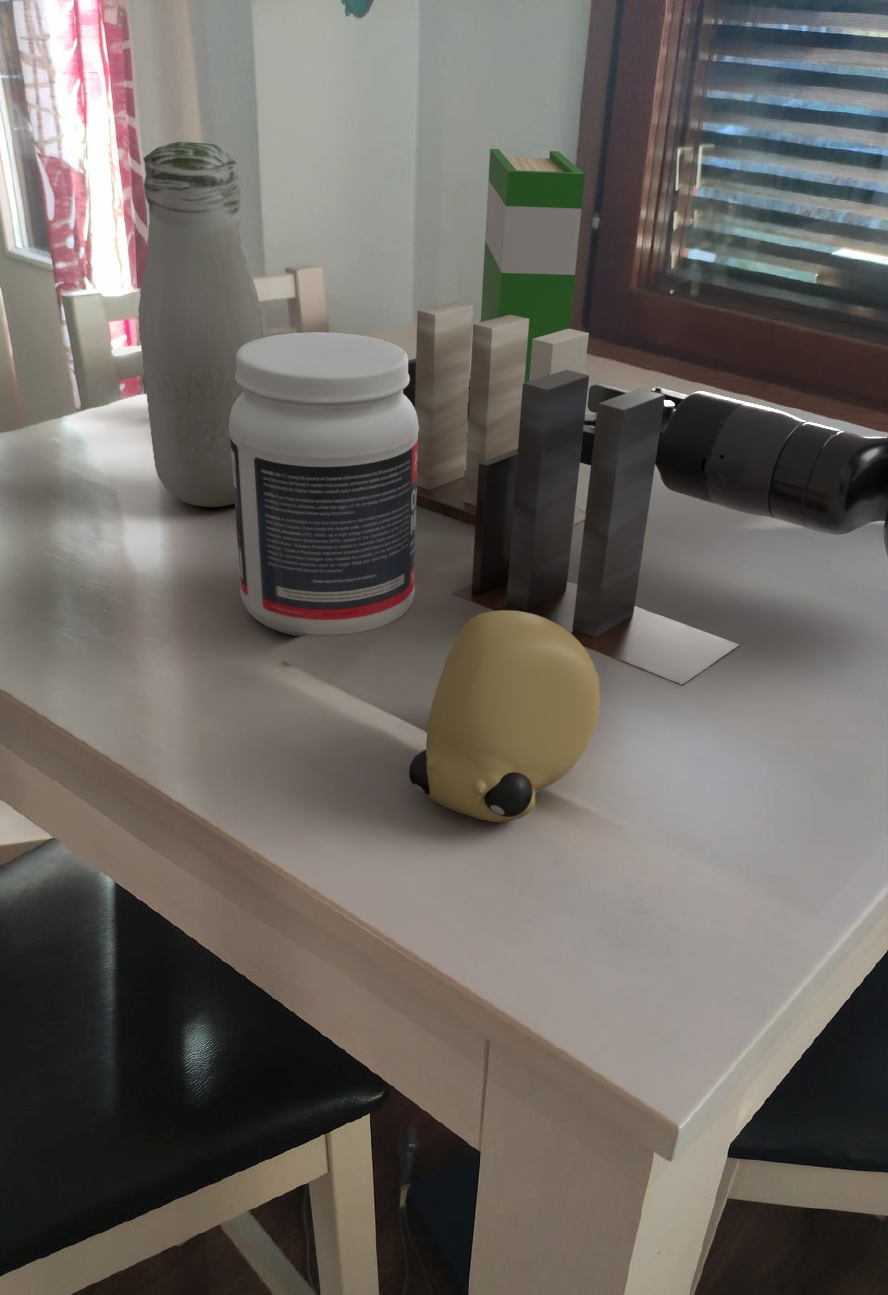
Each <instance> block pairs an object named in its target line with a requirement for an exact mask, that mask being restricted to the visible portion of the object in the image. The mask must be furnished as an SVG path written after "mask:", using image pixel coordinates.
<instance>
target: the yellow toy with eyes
mask: <svg viewBox="0 0 888 1295" xmlns="http://www.w3.org/2000/svg"><path fill="white" fill-rule="evenodd" d="M443 665H444V666H443V668H442V671H441V674H440V677H439V680H438V683H437V685H436V689H435V691H434V692H435V693H434V695H433V699H432V702H431V706H430V710H429V714H428V715H429V716H428V718H427V719H428V720H427V729H426V739H425V740H426V741H425V749H424V750H422V751H420V752H418V753H417V754H416V755H415V756H414V757H413V759H412V760H411V762H410V764H409V768H408V776H409V781H410V783H411V785H412V786H413V787H414V788H415V789H416V790H417V791H419V792H420V793H422V794H425V795H427V797H429V798H430V799H431V800H432V801H434V802H436V803H437V804H439V805H441V806H443V807H445V808H447V809H449V810H451V811H454V812H456V813H459V814H462V815H464V816H468V817H470V818H474V819H477V820H481V821H485V822H491V823H506V822H512V821H515V820H519V819H521V818H523V817H525V816H527V815H529V813H531V812H532V811H533V809H534V808H535V806H536V794H537V793H538V792H539V791H542V790H543V789H545V788H547V787H548V786H550V785H552V784H554V783H555V782H557V781H559V780H560V779H561V778H563V777H564V776H565V775H567V774H568V773H569V771H571V770H572V769H573V768H574V767H575V765H576V764H577V763H578V761H580V759H581V758H582V756H583V754H584V753H585V751H586V749H587V748H588V746H589V744H590V742H591V740H592V738H593V735H594V733H595V731H596V730H595V729H596V727H597V724H598V720H599V716H600V707H601V706H600V705H601V691H600V682H601V681H600V676H599V674H598V673H597V669H596V667H595V664H594V661H593V660H592V657H591V656H590V654H589V652H588V651H587V649H586V647H584V646H582V644H581V643H580V642H579V641H578V640H577V639H576V638H575V637H574V636H573V635H572V634H571V633H569V632H568V631H567V630H565V629H564V628H563V627H561V626H559V625H558V624H556V623H554V622H552V621H550V620H548V619H546V618H543V617H541V616H538V615H534V614H531V613H526V612H520V611H510V610H500V611H494V610H490V611H485V612H481V613H479V614H476V615H475V616H473V617H471V618H470V619H468V620H467V621H466V622H465V624H464V625H463V626H462V627H461V629H460V630H459V632H458V633H457V635H456V637H455V639H454V641H453V643H452V645H451V648H450V650H449V651H448V655H447V657H446V660H445V663H444V664H443Z"/></svg>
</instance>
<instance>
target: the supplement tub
mask: <svg viewBox="0 0 888 1295" xmlns="http://www.w3.org/2000/svg"><path fill="white" fill-rule="evenodd" d="M408 360H409V356H408V354H407V352H406V351H405V350H404V349H403V348H401V347H400V346H398V345H396V344H394V343H393V342H390V341H387V340H383V339H380V338H375V337H371V336H367V335H360V334H351V333H343V332H341V333H340V332H324V331H323V332H322V331H321V332H318V331H316V332H315V331H314V332H313V331H312V332H309V331H308V332H307V331H306V332H291V333H282V334H281V333H280V334H275V335H270V336H265V337H264V336H263V338H260V339H256V340H253V341H251V342H248V343H246V344H244V345H243V346H242V347H240V349H239V350H238V351H237V353H236V366H237V371H236V373H235V380H236V382H237V383H238V384H239V385H240V386H242V388H243V391H244V392H243V393H242V394H241V395H240V396H239V397H238V398H237V400H236V401H235V403H234V405H233V407H232V409H231V413H230V419H229V431H230V442H231V455H232V469H233V484H234V498H235V504H234V511H235V525H236V539H237V540H236V541H237V553H238V568H239V583H240V587H239V588H240V589H239V592H240V597H241V599H242V600H241V601H242V602H243V604H244V607H245V609H246V610H247V611H248V612H249V614H250V615H251V616H252V617H253V619H255V620H257V621H258V622H259V623H260V624H262V625H264V626H265V627H267V628H269V629H272V630H274V631H277V632H280V633H283V634H285V635H290V636H294V637H299V638H301V637H303V636H305V635H311V636H341V635H351V634H357V633H363V632H368V631H371V630H375V629H379V628H381V627H384V626H386V625H388V624H390V623H392V622H394V621H396V620H398V619H400V618H401V617H402V616H403V615H404V614H405V613H406V612H407V611H408V610H409V608H411V605H412V602H413V599H414V596H415V593H416V586H415V582H416V581H415V580H416V577H415V574H416V541H417V540H416V537H417V536H416V534H417V504H416V498H417V455H418V432H419V425H418V419H417V414H416V411H415V408H414V406H413V405H412V403H411V402H410V400H409V399H408V398H407V397H406V396H405V395H404V394H403V389H404V388H406V386H407V385H408V384H409V382H410V377H409V374H408Z"/></svg>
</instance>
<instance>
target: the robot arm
mask: <svg viewBox="0 0 888 1295" xmlns="http://www.w3.org/2000/svg"><path fill="white" fill-rule="evenodd" d="M650 391H652V392H656V393H660V394H664V395H665V400H664V407H663V413H662V420H661V427H660V434H659V441H658V448H657V455H656V462H655V467H656V468H657V471H658V472H659V477H660V479H661V481H662V484H663V485H664V487H666V488H667V489H668V490H669V491H671V492H675V493H679V494H681V495H685V496H688V497H691V498H695V499H697V500H702V501H704V502H708V503H711V504H714V505H717V506H721V507H724V508H727V509H731V510H734V511H737V512H740V513H743V514H748V515H753V516H760V517H768V518H773V519H776V520H780V521H783V522H786V523H790V524H792V525H796V526H800V527H803V528H806V529H809V530H812V531H816V532H819V533H822V534H823V533H824V534H828V535H835V536H837V535H838V536H839V535H845V534H848V533H850V532H851V533H852V532H853V531H855V530H857V529H859V528H861V527H863V526H865V525H868V524H872V523H875V522H884V523H883V544H884V549H885V552H886V555H887V556H888V436H864V435H860V434H856V433H853V432H850V431H846V430H843V429H838V428H836V427H830V426H827V425H823V424H819V423H815V422H812V421H811V422H810V421H808V420H804V419H801V418H799V417H797V416H795V415H792V414H790V413H787V412H785V411H781V410H778V409H774V408H771V407H767V406H763V405H758V404H754V403H750V402H746V401H743V400H738V399H734V398H730V397H726V396H722V395H719V394H714V393H711V392H707V391H695V392H692V393H690V394H688V395H687V394H684V393H680V392H677V391H673V390H669V389H666V388H662V387H660V386H656V387H652V388H650ZM628 392H631V391H629V390H625V389H622V388H618V387H614V386H611V385H607V384H603V383H595V384H591V386H589V387H588V395H587V410H588V411H589V412H591V413H594V414H585V420H584V429H583V439H582V448H581V457H580V464H584V465H588V466H590V467H591V461H592V452H593V443H594V434H595V426H596V417H597V408H598V403H601V402H604V401H606V400H609V399H612V398H615V397H617V396H620V395H623V394H626V393H628Z"/></svg>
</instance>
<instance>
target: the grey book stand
mask: <svg viewBox="0 0 888 1295" xmlns="http://www.w3.org/2000/svg"><path fill="white" fill-rule="evenodd" d="M589 383H590V375H588V374H586V373H584V374H581V373H577V372H573V371H569V370H563V371H560V372H557V373H554V374H551V375H548V376H545V377H542V378H538V379H535V380H532V381H529V382H526V383H523V387H522V401H521V414H520V427H519V440H518V449H515V450H512V451H510V452H507V453H504V454H502V455H499V456H496V457H494V458H491V459H488V460H486V461H483V462H480V463H479V470H478V488H477V505H476V523H475V525H474V539H473V540H474V541H473V542H474V543H473V557H472V558H473V559H472V577H471V583H470V584H468V585H465V586H463V587H462V588H459V589H457V590H455V591H453V592H451V594H452V595H454V596H457V597H459V598H461V599H464V600H465V601H469V602H471V603H474V604H475V605H479V606H481V607H484V608H487V609H489V610H490V611H500V610H510V611H520V612H526V613H531V614H534V615H538V616H541V617H543V618H546V619H548V620H550V621H552V622H554V623H556V624H558V625H559V626H561V627H563V628H564V629H565V630H567V631H568V632H569V633H571V634H572V635H573V636H574V637H575V638H576V639H577V640H578V641H579V642H580V643H581V644H582V646H583V647H584V648H585V649H586V648H587V649H589V650H592V651H593V652H597V653H598V654H602V655H604V656H606V657H609V658H611V659H614V660H616V661H619V662H622V663H624V664H627V665H629V666H631V667H634V668H636V669H639V670H642V671H644V672H646V673H649V674H651V675H654V676H656V677H659V678H662V679H664V680H667V681H668V682H672V683H674V684H676V685H680V686H682V687H684V686H685V685H687V684H688V683H690V682H691V681H692V680H693V679H695V678H696V677H698V676H699V675H701V674H702V673H703V672H705V671H707V670H708V669H709V668H711V667H712V666H713V665H715V664H717V663H718V662H719V661H721V660H722V659H723V658H725V657H727V656H728V655H729V654H731V653H732V652H733V651H735V650H736V649H738V648H739V647H741V644H739V643H736V642H735V641H734V642H733V641H732V640H728V639H726V638H723V637H720V636H717V635H715V634H711V633H709V632H707V631H703V630H701V629H698V628H696V627H693V626H690V625H688V624H685V623H682V622H679V621H677V620H674V619H671V618H668V617H665V616H663V615H660V614H657V613H654V612H652V611H650V610H646V609H644V608H642V607H638V606H636V598H637V592H638V586H639V585H638V584H639V578H640V570H641V563H642V557H643V552H644V551H643V550H644V543H645V537H646V530H647V523H648V517H649V509H650V502H651V495H652V490H653V482H654V476H655V467H656V465H655V462H656V455H657V448H658V441H659V434H660V427H661V420H662V413H663V407H664V400H665V395H664V394H660V393H656V392H652V391H651V390H648V389H644V388H641V387H640V388H637V389H634V390H631V391H630V392H628V393H626V394H623V395H620V396H617V397H615V398H612V399H609V400H606V401H604V402H601V403H598V408H597V417H596V426H595V427H594V428H595V434H594V443H593V452H592V461H591V466H590V471H589V480H588V488H587V498H586V506H585V509H586V514H585V521H584V524H583V531H582V532H583V533H582V542H581V549H580V558H579V568H578V576H577V577H578V579H577V583H574V582H571V581H568V577H569V569H570V568H569V567H570V560H571V558H570V557H571V549H572V540H573V531H574V526H573V522H574V513H575V506H576V502H577V492H578V485H579V484H578V483H579V475H580V466H581V463H580V457H581V448H582V439H583V429H584V420H585V415H586V409H587V402H588V393H589ZM665 401H666V400H665Z"/></svg>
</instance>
